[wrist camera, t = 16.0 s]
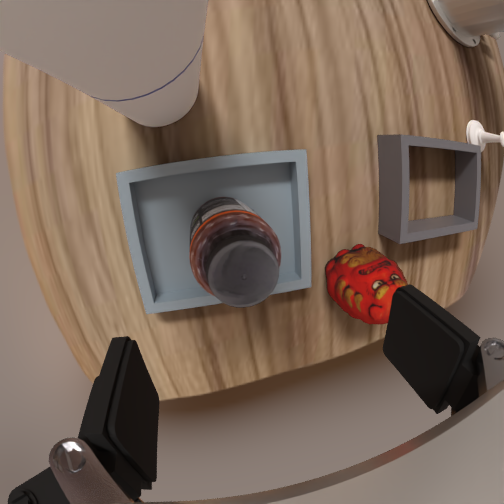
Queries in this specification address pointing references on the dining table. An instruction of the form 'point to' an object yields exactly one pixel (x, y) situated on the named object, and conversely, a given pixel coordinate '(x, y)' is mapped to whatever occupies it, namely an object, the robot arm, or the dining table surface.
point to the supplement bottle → (234, 252)
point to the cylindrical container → (114, 50)
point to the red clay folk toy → (364, 283)
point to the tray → (190, 200)
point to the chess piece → (481, 135)
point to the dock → (397, 189)
